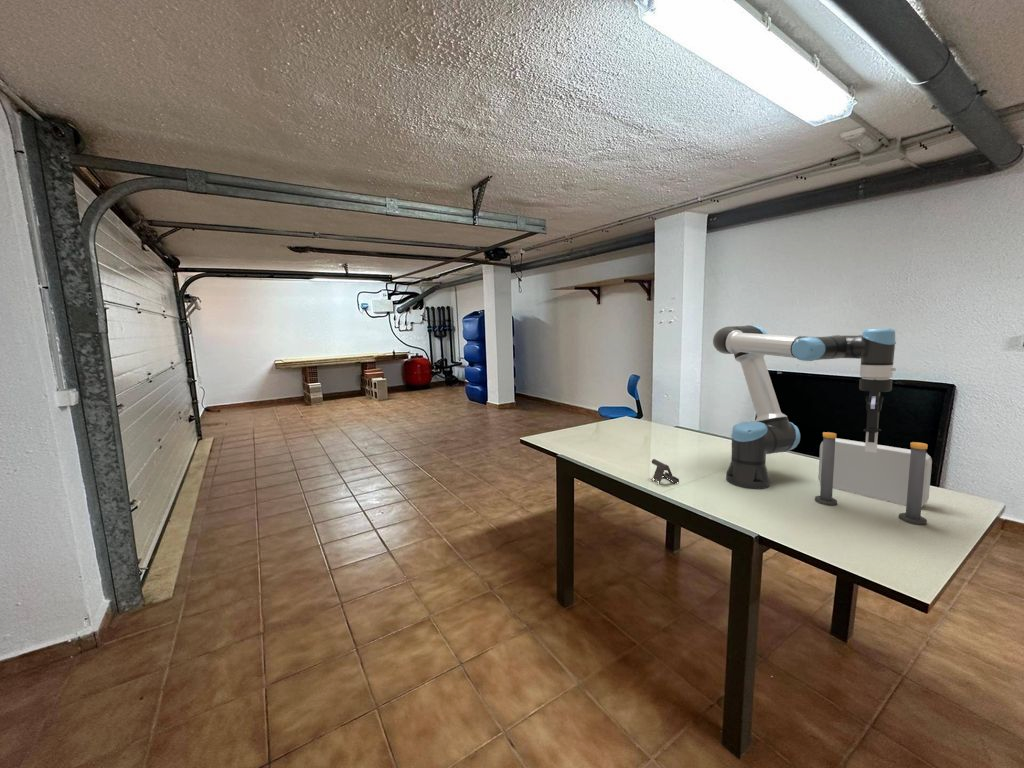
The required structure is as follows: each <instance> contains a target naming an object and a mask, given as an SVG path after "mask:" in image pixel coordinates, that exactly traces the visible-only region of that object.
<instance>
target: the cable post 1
mask: <svg viewBox="0 0 1024 768" xmlns="http://www.w3.org/2000/svg"><path fill="white" fill-rule="evenodd" d="M835 438H837V433H835V432H830V431H827V432H825V431H823V432H822V439H823V440H822V442H823V453H822V471H821V483H820V489H819V490H820V492H819V493H820V494H819V495H816V496H814V501H815V502H816V503H818V504H820V505H824V506H831V507H832V506H837V505H838V500H837V499H836V498H833V489H834V488H833V473H834V455H835Z"/></svg>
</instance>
